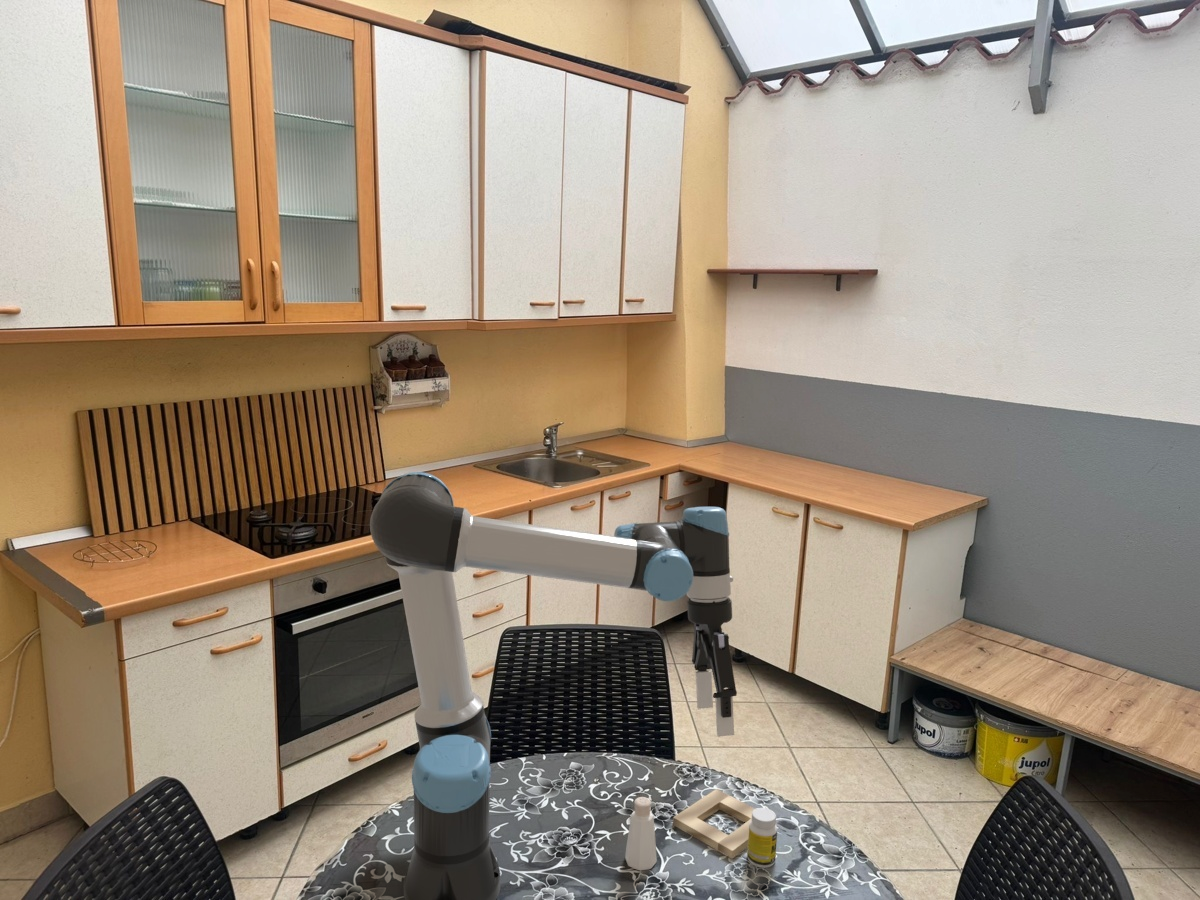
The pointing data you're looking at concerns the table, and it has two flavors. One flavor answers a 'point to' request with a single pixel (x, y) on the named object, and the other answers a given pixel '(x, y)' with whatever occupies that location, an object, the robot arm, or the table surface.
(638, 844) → the pepper shaker
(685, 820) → the hole block
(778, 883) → the table surface
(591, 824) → the table surface
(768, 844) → the supplement bottle
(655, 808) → the table surface
